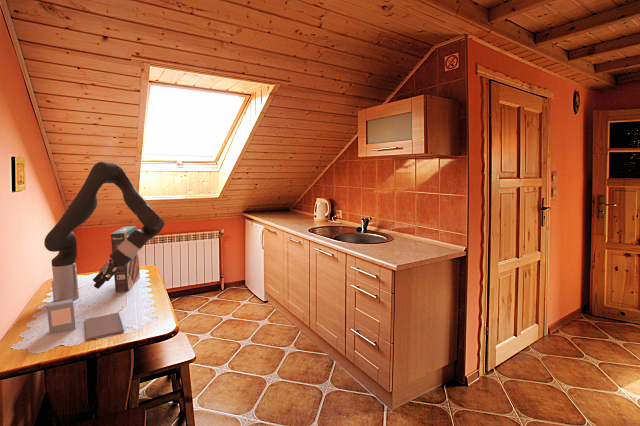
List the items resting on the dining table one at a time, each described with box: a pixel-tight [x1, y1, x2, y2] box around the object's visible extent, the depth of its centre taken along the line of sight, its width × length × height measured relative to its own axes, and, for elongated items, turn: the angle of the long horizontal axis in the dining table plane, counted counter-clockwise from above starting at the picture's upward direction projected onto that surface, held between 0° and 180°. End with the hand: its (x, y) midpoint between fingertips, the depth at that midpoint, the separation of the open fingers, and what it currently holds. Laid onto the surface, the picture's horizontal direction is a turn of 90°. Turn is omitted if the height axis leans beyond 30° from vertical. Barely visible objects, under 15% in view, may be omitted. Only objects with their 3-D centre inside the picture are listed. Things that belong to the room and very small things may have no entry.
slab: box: [46, 299, 76, 335], centre depth 137 cm, size 8×4×11 cm, turn 124°
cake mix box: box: [110, 225, 141, 293], centre depth 188 cm, size 22×6×30 cm, turn 13°
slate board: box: [84, 312, 125, 342], centre depth 140 cm, size 20×12×1 cm, turn 35°
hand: (95, 284), depth 142 cm, fingers open, 8 cm apart
